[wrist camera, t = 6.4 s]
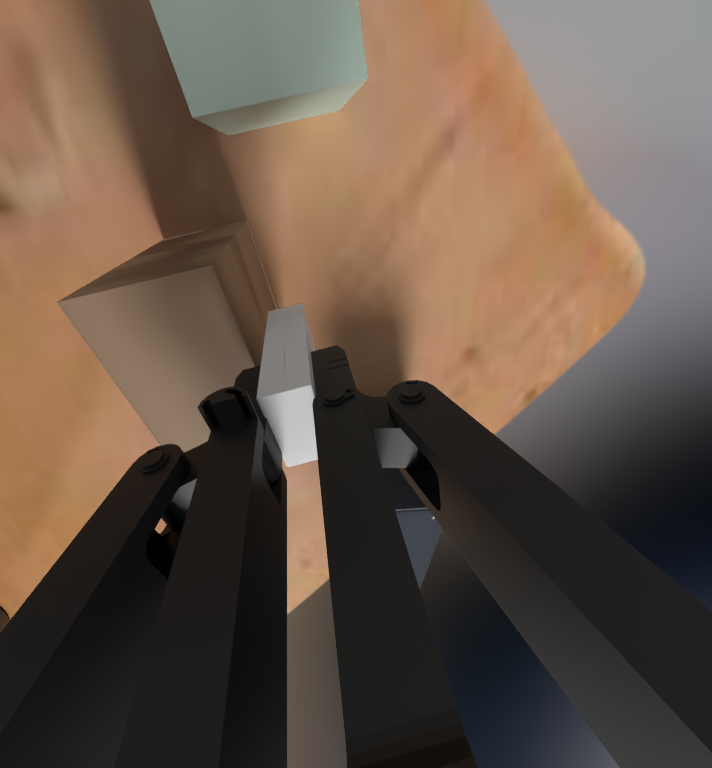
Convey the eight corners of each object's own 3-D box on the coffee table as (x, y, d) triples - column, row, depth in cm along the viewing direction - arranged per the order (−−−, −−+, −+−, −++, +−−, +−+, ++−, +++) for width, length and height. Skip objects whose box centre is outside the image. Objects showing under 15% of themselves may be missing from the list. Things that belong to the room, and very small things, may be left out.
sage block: (228, 135, 18) (192, 117, 11) (172, -36, 14) (73, -207, 8) (339, 110, 18) (368, 78, 11) (309, -64, 15) (325, -256, 8)
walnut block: (219, 355, 24) (178, 470, 15) (163, 239, 20) (56, 302, 11) (287, 339, 24) (286, 442, 15) (247, 219, 20) (211, 265, 11)
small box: (333, 407, 28) (352, 513, 20) (407, 405, 30) (456, 504, 21) (328, 492, 34) (341, 603, 25) (390, 487, 35) (423, 592, 27)
